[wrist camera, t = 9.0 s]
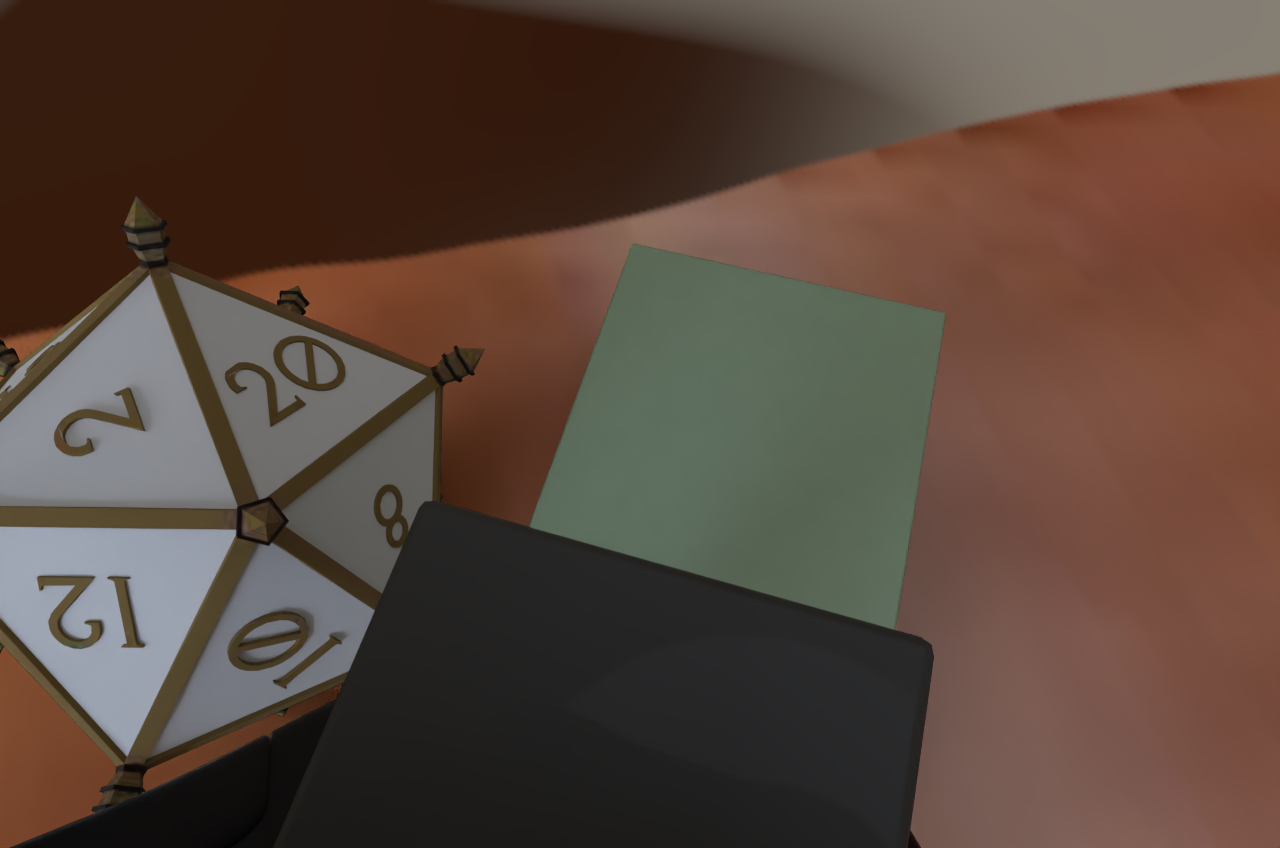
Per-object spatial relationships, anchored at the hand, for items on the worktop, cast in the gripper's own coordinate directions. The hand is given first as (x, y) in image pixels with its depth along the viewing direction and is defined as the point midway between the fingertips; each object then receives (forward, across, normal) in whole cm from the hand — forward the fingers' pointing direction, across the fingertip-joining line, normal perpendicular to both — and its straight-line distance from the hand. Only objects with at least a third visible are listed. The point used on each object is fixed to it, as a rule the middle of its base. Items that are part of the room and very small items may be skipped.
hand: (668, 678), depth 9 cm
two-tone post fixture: (+8, 0, +3) cm, 8 cm away
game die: (+6, +8, +5) cm, 11 cm away
